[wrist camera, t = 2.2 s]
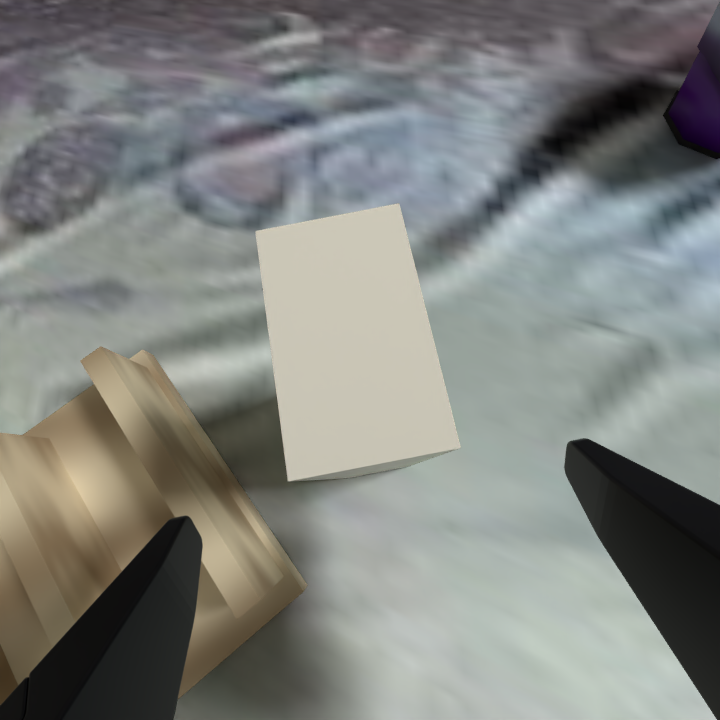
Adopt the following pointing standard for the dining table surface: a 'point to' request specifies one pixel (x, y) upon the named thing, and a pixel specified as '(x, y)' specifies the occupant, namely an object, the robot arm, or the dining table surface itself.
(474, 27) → the dining table surface
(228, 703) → the dining table surface
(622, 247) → the dining table surface
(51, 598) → the ridged tan cradle
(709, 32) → the potion bottle
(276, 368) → the cream rectangular block
